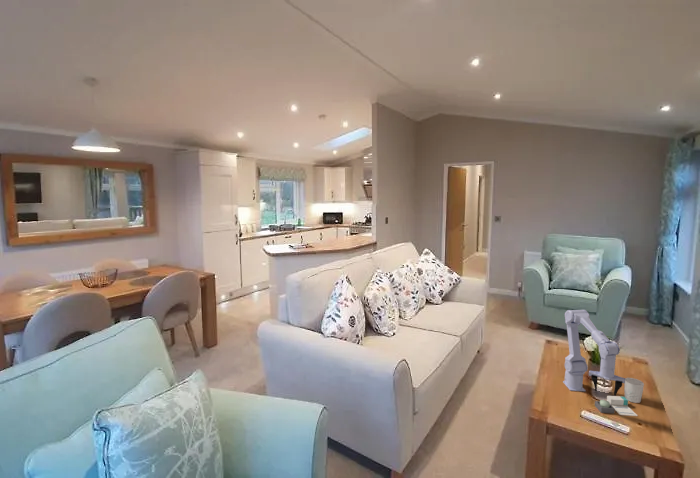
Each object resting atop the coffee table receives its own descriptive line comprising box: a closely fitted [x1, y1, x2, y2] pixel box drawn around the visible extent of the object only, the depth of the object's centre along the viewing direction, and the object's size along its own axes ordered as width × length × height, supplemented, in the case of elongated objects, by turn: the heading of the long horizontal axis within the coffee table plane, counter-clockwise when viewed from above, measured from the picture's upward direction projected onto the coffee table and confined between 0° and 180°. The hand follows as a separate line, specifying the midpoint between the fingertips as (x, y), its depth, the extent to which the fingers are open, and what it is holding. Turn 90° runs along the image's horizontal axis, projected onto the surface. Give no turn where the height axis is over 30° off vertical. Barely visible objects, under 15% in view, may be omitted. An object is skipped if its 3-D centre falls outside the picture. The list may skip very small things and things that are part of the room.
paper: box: [611, 405, 639, 417], centre depth 179 cm, size 8×8×1 cm
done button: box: [599, 399, 610, 408], centre depth 180 cm, size 4×4×3 cm
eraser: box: [606, 395, 629, 406], centre depth 184 cm, size 8×3×3 cm, turn 82°
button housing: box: [594, 400, 616, 414], centre depth 180 cm, size 6×6×2 cm
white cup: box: [623, 377, 645, 404], centre depth 188 cm, size 8×8×10 cm
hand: (605, 392), depth 178 cm, fingers open, 7 cm apart
